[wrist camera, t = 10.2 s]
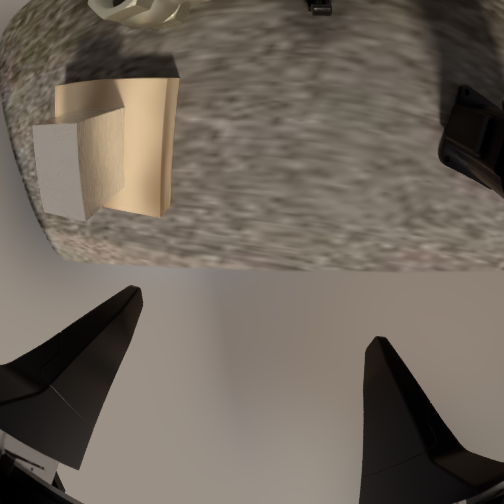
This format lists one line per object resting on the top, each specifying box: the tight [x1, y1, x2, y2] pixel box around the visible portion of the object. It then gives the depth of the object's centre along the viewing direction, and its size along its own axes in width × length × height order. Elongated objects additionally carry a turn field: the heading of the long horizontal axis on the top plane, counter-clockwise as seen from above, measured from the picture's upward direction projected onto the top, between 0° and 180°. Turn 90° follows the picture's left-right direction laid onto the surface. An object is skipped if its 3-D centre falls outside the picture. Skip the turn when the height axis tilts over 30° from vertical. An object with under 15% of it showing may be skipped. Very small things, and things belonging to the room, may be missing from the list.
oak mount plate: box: [55, 77, 180, 218], centre depth 17 cm, size 10×10×2 cm
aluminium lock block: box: [33, 108, 125, 221], centre depth 15 cm, size 4×6×5 cm, turn 170°
